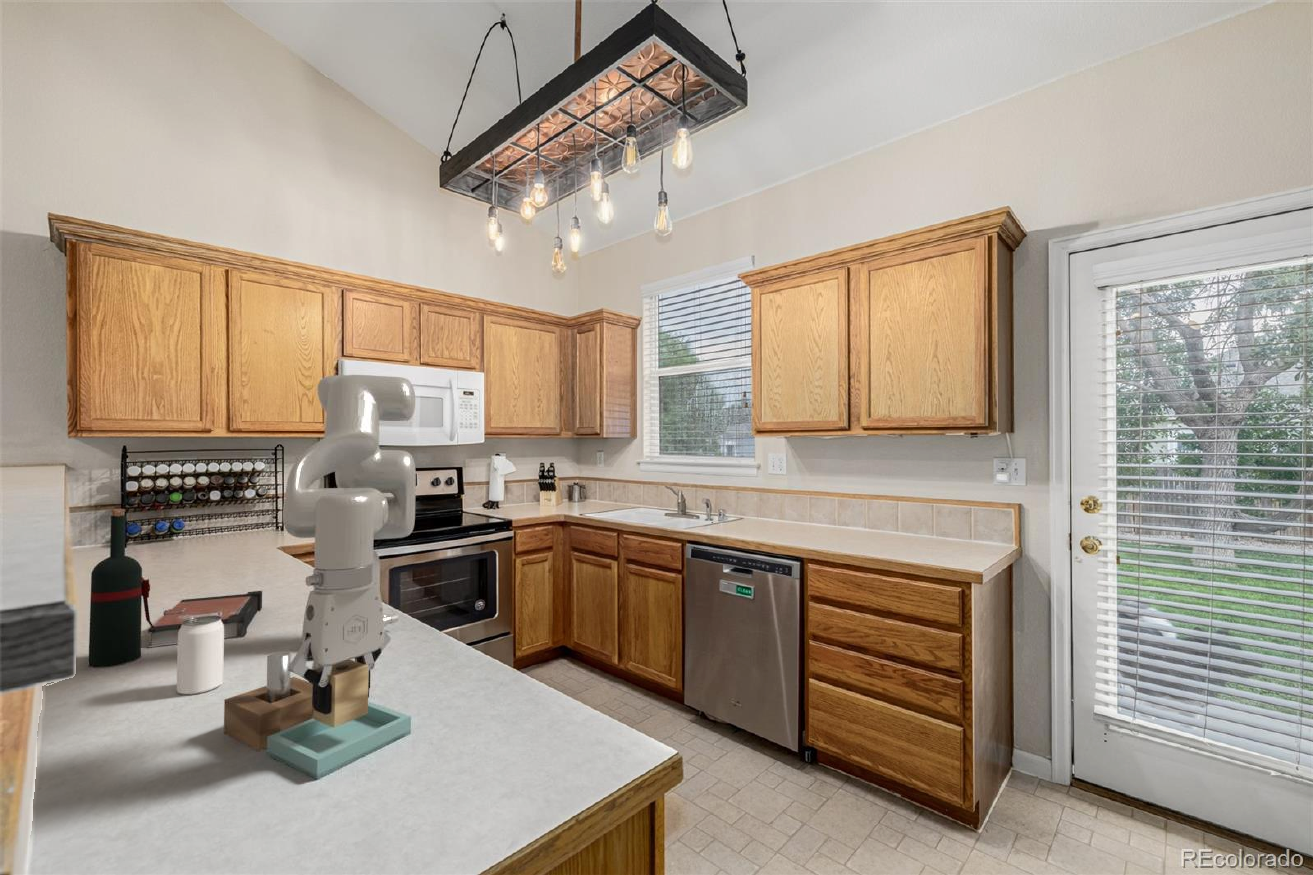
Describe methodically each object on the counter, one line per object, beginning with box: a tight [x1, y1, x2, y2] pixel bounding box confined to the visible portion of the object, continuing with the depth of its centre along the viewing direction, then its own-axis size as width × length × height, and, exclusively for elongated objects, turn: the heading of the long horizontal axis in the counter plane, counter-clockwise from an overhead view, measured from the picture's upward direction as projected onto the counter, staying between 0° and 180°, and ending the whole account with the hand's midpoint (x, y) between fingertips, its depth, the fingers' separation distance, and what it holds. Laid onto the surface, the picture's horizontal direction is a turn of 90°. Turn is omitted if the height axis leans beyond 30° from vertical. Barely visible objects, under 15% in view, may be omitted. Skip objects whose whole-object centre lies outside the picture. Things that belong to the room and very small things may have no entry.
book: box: [147, 590, 263, 649], centre depth 138 cm, size 26×18×5 cm
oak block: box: [313, 659, 369, 728], centre depth 84 cm, size 5×5×7 cm
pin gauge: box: [266, 651, 292, 703], centre depth 89 cm, size 3×3×10 cm
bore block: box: [223, 676, 314, 752], centre depth 88 cm, size 10×10×5 cm
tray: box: [266, 700, 412, 780], centre depth 84 cm, size 14×12×2 cm
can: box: [176, 616, 225, 696], centre depth 103 cm, size 6×6×12 cm
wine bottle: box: [87, 508, 156, 669], centre depth 117 cm, size 8×10×30 cm
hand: (342, 702), depth 84 cm, fingers closed on oak block, 5 cm apart
